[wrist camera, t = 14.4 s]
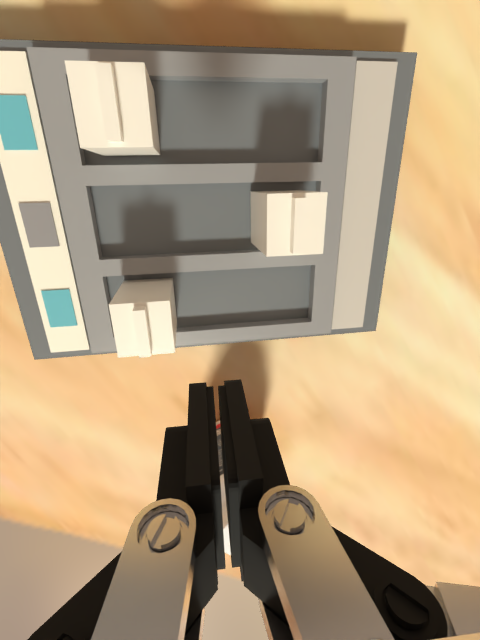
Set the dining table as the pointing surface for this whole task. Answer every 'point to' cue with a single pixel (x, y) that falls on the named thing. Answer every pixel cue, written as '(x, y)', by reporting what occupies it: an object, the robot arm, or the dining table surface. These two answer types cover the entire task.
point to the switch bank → (200, 190)
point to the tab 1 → (113, 107)
